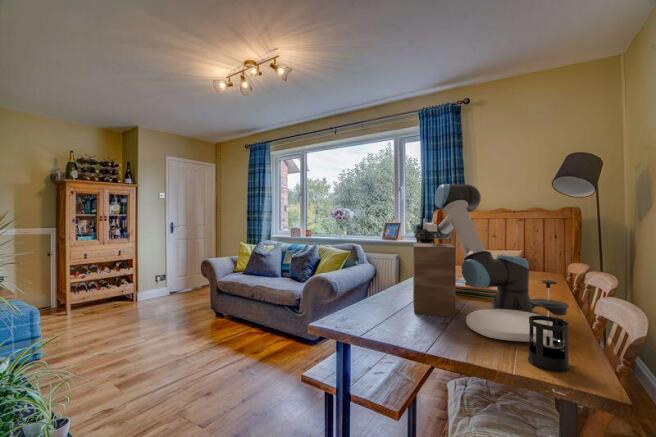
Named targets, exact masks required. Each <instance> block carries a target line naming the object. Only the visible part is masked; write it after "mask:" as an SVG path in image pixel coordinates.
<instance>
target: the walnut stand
mask: <svg viewBox="0 0 656 437" xmlns="http://www.w3.org/2000/svg"><path fill="white" fill-rule="evenodd" d="M412 246H413V248H412V254H413V255H412V259H413V261H412V264H413V265H412V266H413V267H412V269H413V271H412V273H413V274H412V285H413V286H412V303H413V304H412V305H413V313H414V315H426V316H436V317H437V316H439V317H455V318H456V317H457V316H456V315H457V314H456V312H457V310H456V306H457V305H456V302H457V301H456V300H457V299H456V296H457V295H456V293H457V292H456V289H457V288H456V285H457V284H456V281H457V280H456V276H457V275H456V273H457V272H456V260H457V258H456V256H457V254H456V249H457V248H456V246H454V245H453V244H451V243H433V244H430V243H417V242H416V243H414V242H413V243H412Z"/></svg>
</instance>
